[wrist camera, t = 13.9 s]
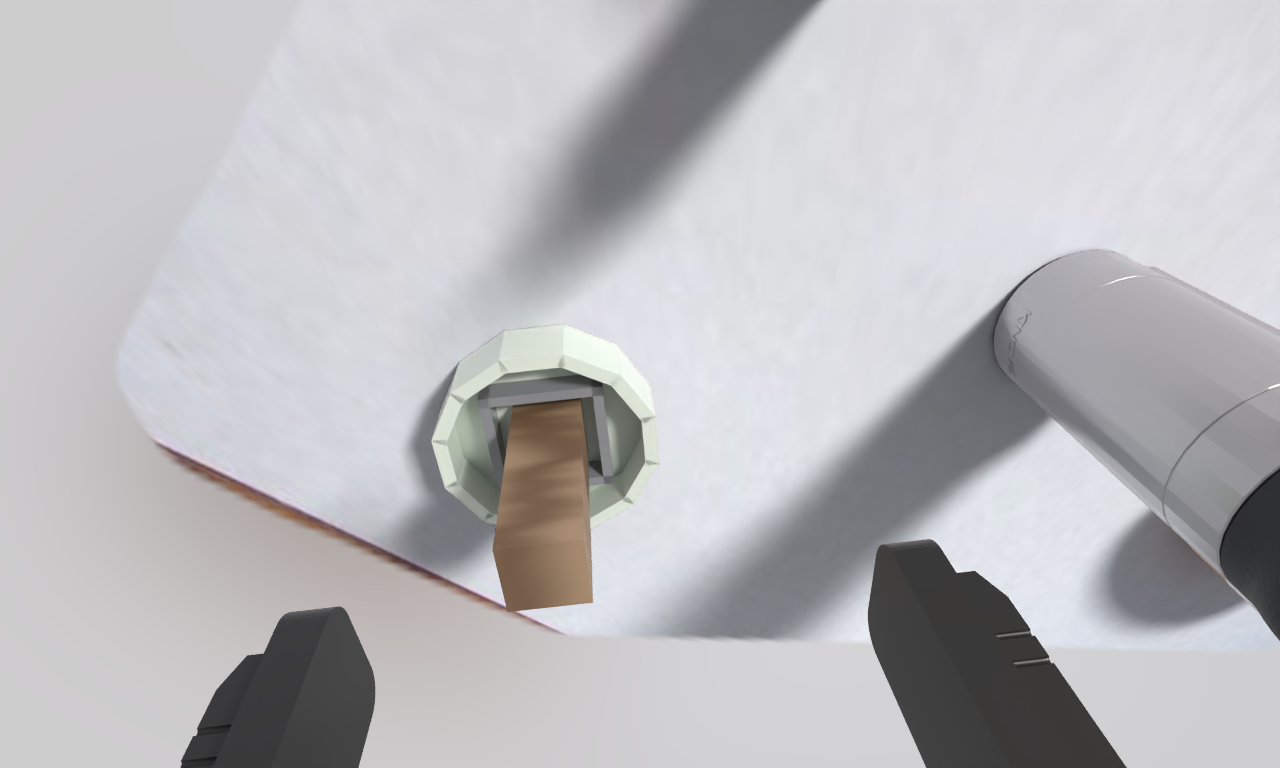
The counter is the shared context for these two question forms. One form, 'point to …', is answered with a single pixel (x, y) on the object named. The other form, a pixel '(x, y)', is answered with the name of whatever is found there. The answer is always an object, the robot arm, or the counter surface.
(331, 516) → the counter surface
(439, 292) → the counter surface
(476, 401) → the pale green faceted dish
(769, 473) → the counter surface
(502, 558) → the brown wooden block
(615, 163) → the counter surface
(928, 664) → the robot arm
